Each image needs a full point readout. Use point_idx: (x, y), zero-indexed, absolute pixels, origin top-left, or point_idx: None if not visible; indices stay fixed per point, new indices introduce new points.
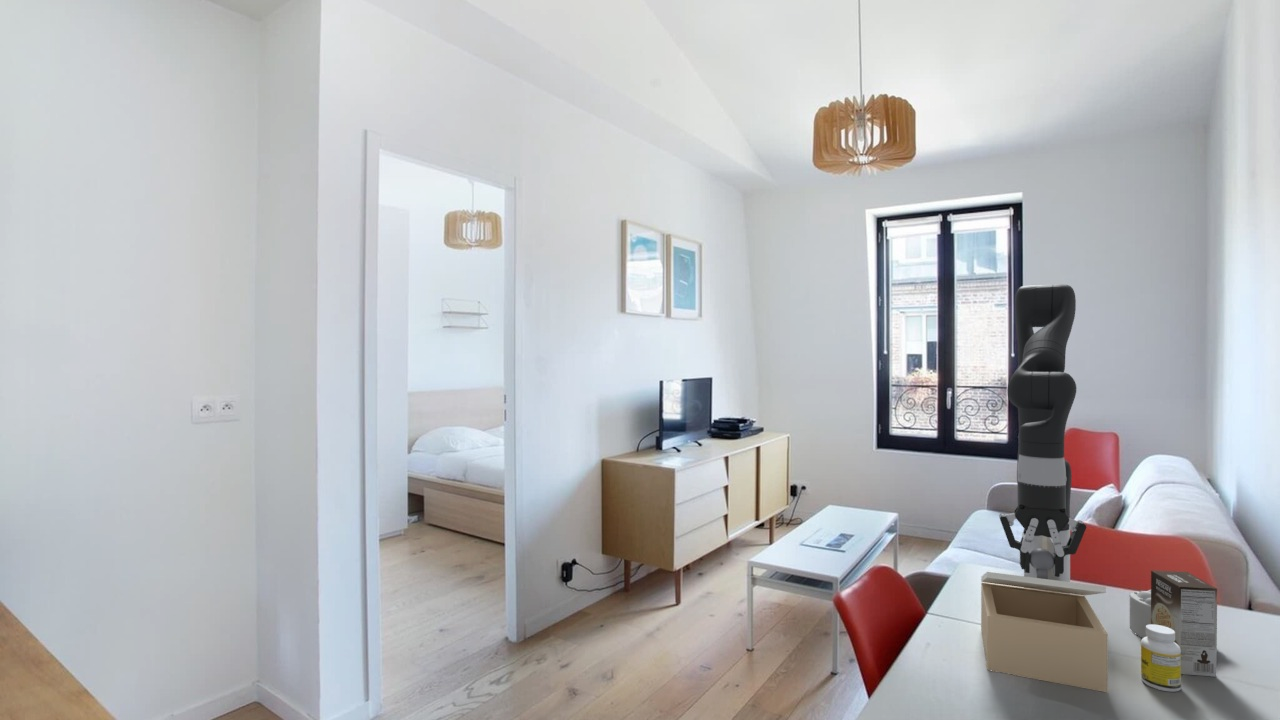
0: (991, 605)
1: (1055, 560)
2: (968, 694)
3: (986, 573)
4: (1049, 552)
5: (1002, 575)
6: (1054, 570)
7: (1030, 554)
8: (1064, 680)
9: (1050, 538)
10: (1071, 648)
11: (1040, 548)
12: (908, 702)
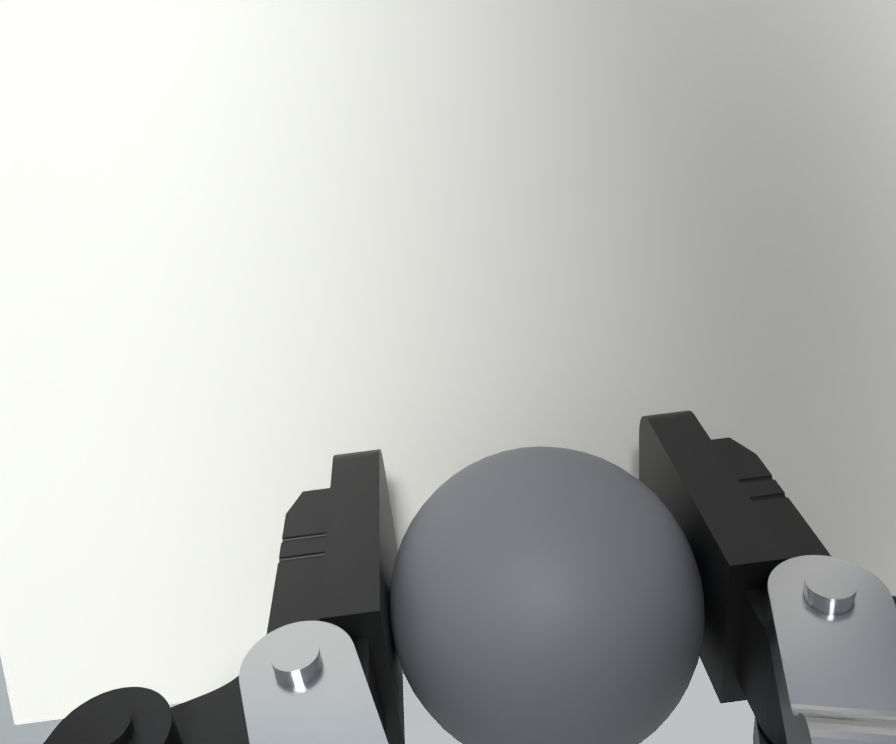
0: None
1: (706, 663)
2: None
3: (4, 635)
4: (672, 703)
5: (163, 696)
6: None
7: (414, 692)
8: None
9: (805, 735)
10: None
11: (562, 721)
12: (30, 725)
